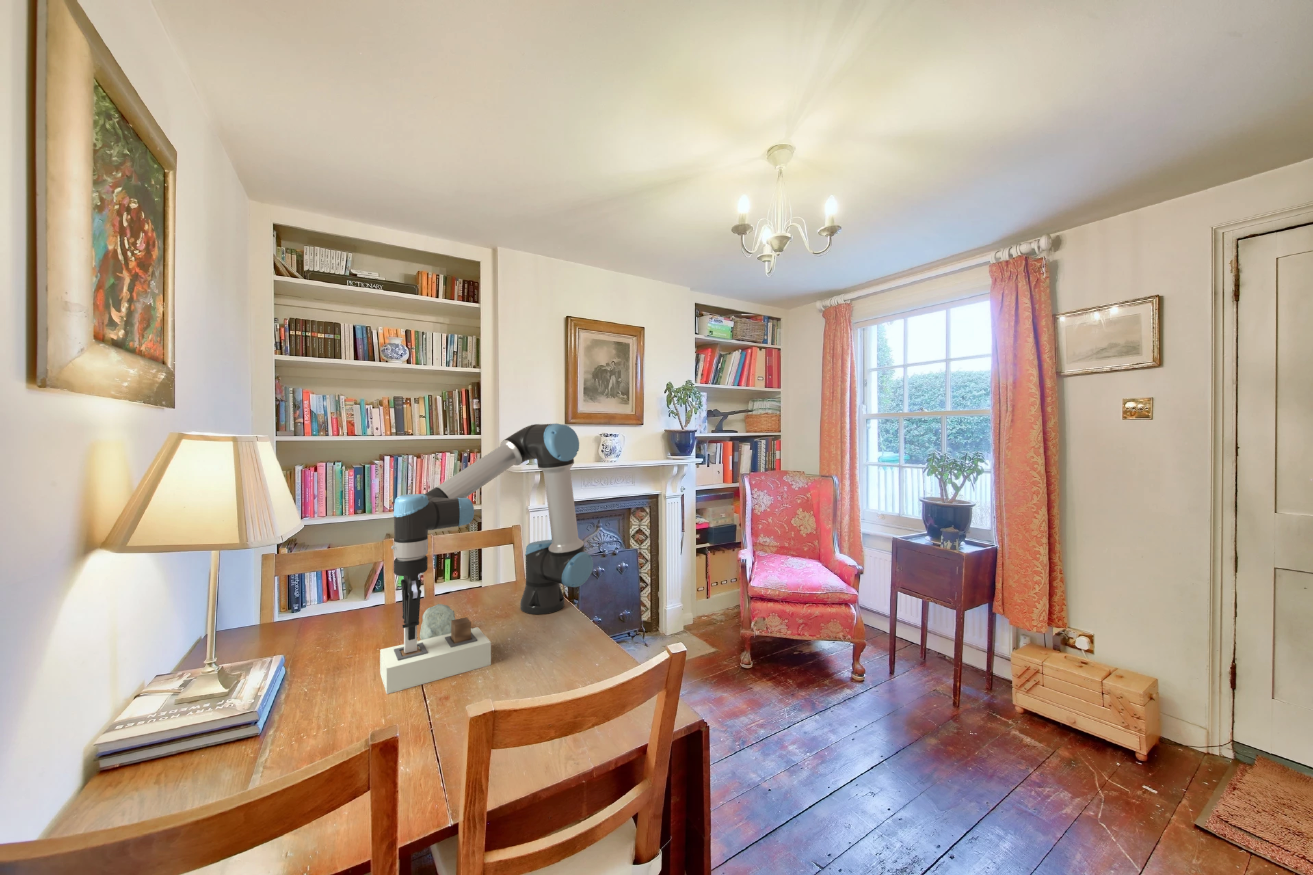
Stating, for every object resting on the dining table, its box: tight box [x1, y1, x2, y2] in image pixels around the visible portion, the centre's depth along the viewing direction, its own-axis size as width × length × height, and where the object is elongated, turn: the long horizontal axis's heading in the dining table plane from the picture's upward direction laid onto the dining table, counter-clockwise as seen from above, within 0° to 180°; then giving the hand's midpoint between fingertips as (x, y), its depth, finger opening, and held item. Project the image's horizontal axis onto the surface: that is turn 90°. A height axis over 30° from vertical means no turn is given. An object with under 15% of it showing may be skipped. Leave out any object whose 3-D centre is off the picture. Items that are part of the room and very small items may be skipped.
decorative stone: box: [419, 603, 456, 640], centre depth 139 cm, size 13×11×10 cm
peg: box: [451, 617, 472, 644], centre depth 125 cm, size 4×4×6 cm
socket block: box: [379, 626, 492, 695], centre depth 122 cm, size 24×12×6 cm, turn 127°
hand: (410, 650), depth 118 cm, fingers closed
